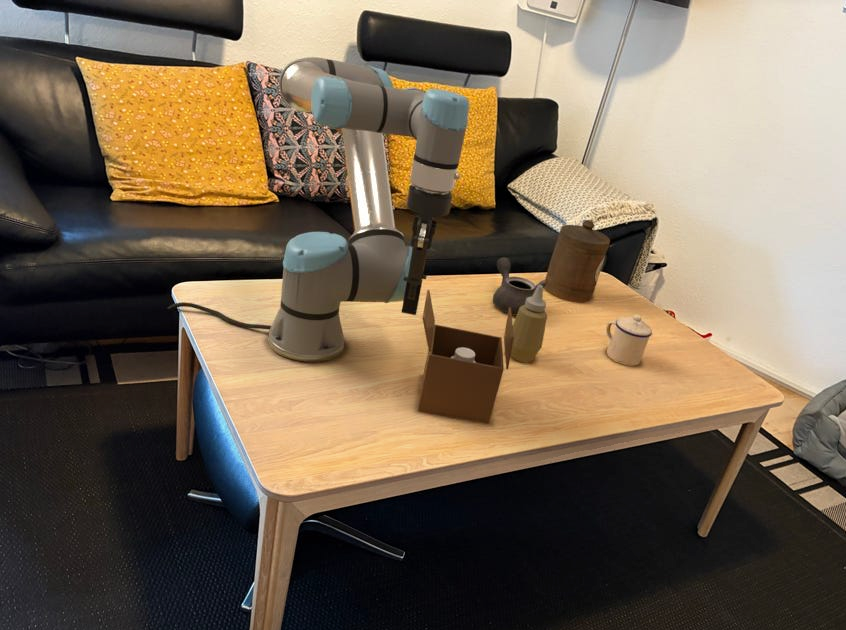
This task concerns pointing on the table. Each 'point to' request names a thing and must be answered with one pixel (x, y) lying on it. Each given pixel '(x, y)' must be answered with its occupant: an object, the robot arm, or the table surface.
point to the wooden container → (576, 262)
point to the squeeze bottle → (529, 327)
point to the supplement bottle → (464, 354)
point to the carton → (464, 373)
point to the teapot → (512, 289)
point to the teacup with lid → (628, 340)
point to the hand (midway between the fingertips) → (409, 312)
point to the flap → (428, 320)
